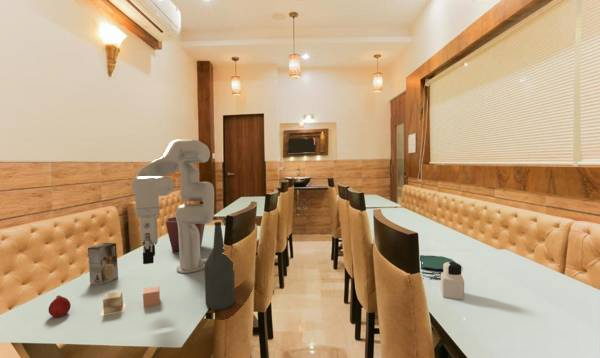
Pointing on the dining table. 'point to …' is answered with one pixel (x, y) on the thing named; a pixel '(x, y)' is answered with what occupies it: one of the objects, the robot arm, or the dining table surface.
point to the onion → (59, 306)
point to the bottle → (219, 275)
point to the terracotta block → (151, 296)
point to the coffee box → (102, 263)
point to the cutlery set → (434, 263)
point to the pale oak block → (112, 302)
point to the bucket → (174, 235)
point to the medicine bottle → (452, 281)
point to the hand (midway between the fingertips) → (149, 259)
